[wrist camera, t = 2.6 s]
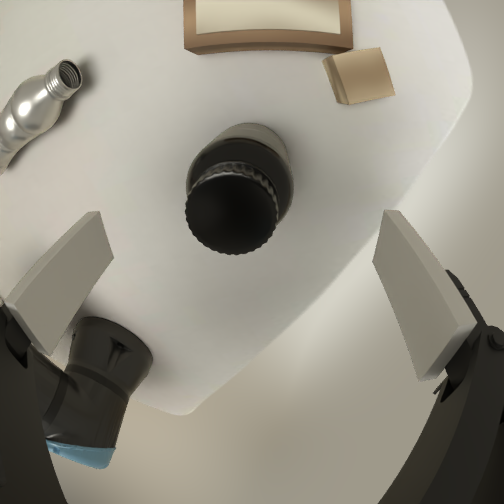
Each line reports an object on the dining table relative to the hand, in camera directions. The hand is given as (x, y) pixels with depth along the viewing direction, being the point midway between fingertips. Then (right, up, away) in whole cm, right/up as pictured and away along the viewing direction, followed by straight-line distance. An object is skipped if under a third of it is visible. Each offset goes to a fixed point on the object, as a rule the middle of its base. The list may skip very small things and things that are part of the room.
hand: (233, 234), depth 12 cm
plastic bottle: (-35, +11, +8) cm, 37 cm away
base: (+2, +21, +3) cm, 21 cm away
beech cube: (+9, +14, +7) cm, 18 cm away
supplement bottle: (0, +8, +12) cm, 14 cm away
